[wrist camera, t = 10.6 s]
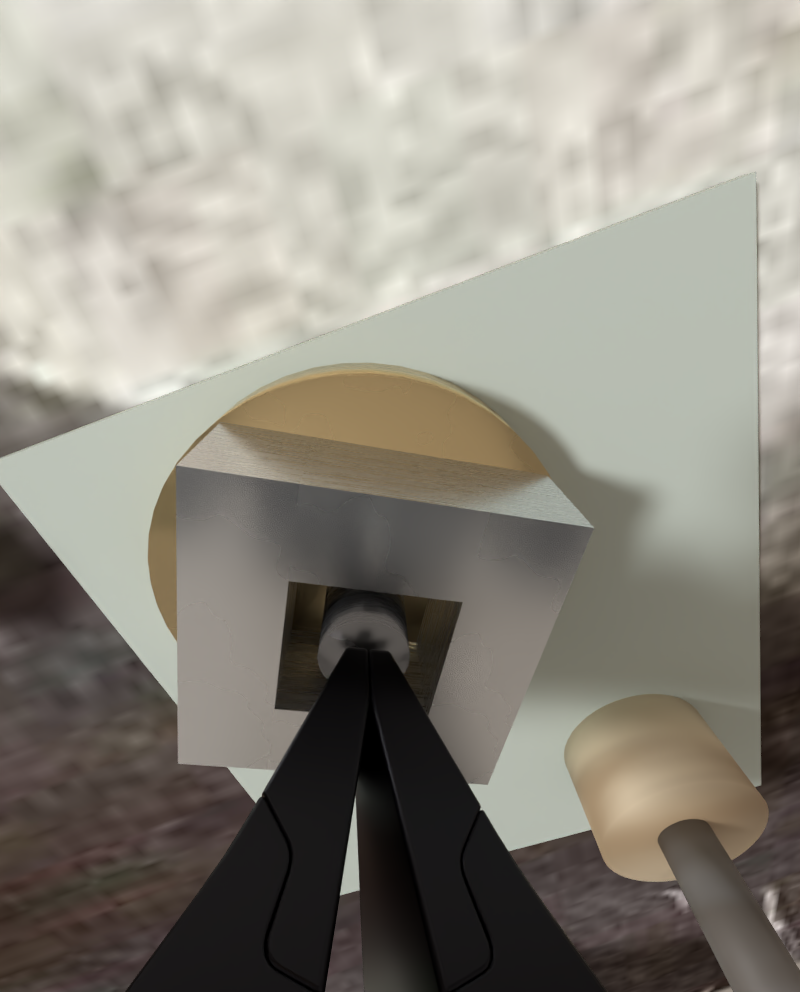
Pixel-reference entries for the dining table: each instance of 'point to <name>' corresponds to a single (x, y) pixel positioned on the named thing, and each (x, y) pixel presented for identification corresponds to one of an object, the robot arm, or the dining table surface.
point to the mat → (562, 451)
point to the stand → (680, 824)
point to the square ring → (359, 585)
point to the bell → (365, 421)
